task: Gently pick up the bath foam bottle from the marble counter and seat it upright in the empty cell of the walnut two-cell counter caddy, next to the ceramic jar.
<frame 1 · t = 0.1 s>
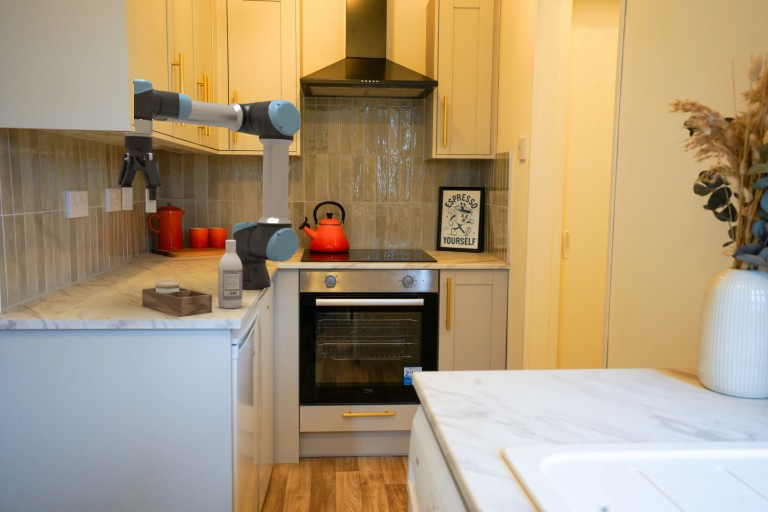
hand: (138, 211, 189), 28 cm above the worktop, fingers open, 13 cm apart
caddy: (176, 308, 191), on the worktop
bath foam: (230, 307, 198), on the worktop
cream jar: (167, 292, 194), in the caddy, point 4 cm above the worktop
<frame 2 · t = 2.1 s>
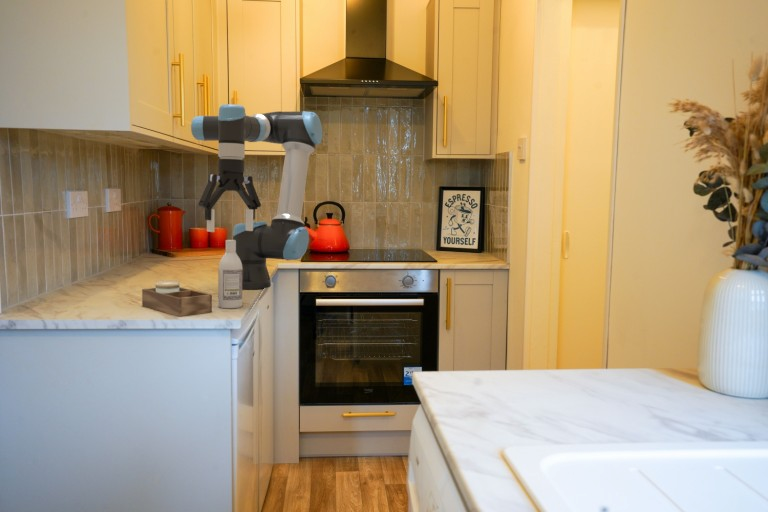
hand: (230, 231, 195), 23 cm above the worktop, fingers open, 13 cm apart
nothing on the worktop moved.
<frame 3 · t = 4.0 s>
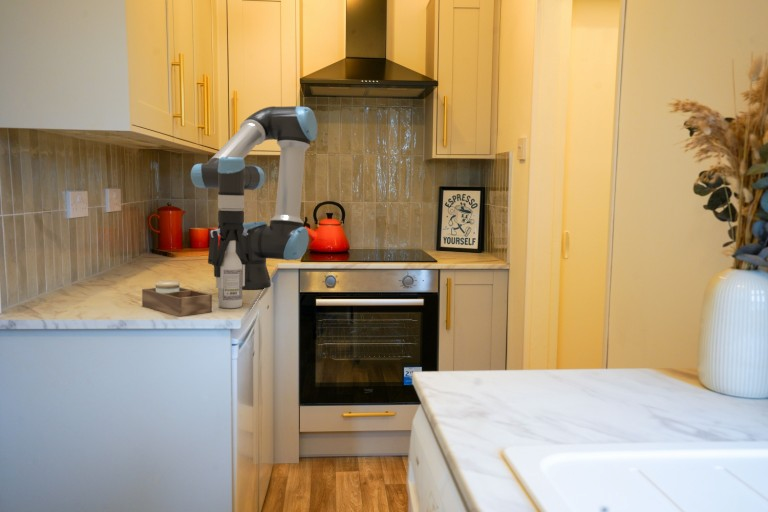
hand: (230, 286, 197), 6 cm above the worktop, fingers closed on bath foam, 7 cm apart
bath foam: (230, 307, 198), on the worktop, touching gripper
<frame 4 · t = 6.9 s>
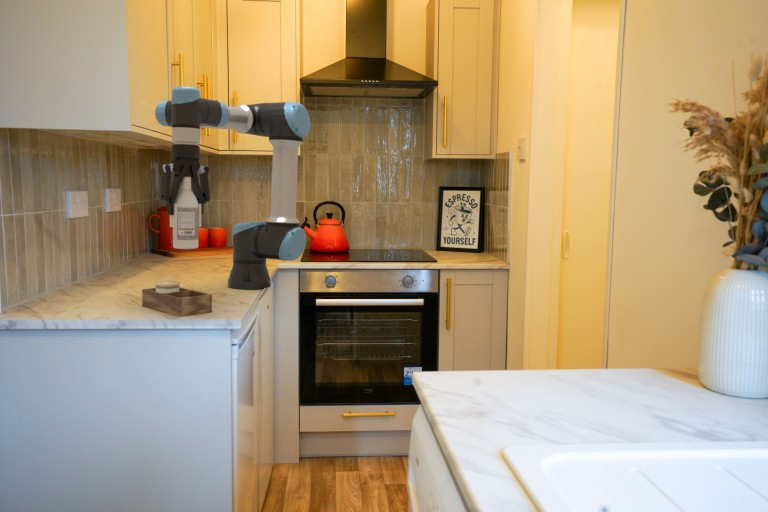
hand: (185, 226, 186), 24 cm above the worktop, fingers closed on bath foam, 7 cm apart
bath foam: (185, 248, 186), point 18 cm above the worktop, touching gripper
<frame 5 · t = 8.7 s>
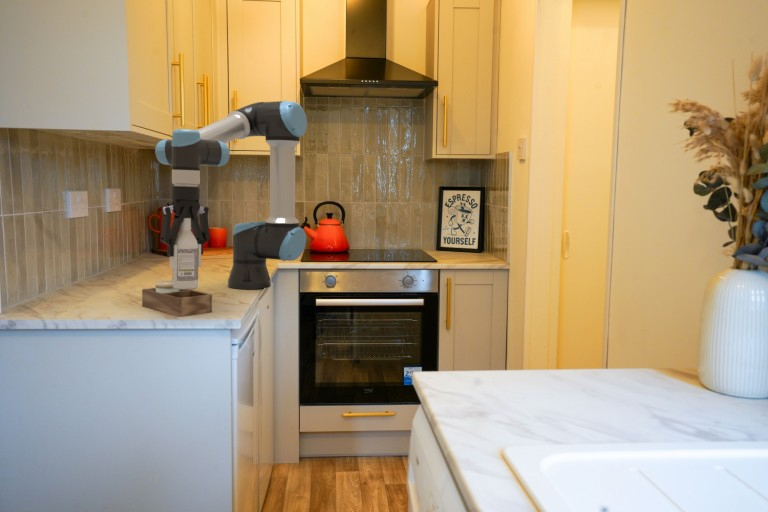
hand: (185, 267, 187), 13 cm above the worktop, fingers closed on bath foam, 7 cm apart
bath foam: (185, 288, 187), point 7 cm above the worktop, touching gripper
when the fingers open (8 cm above the worktop, at t = 10.0 s): bath foam drops 1 cm, resting on caddy.
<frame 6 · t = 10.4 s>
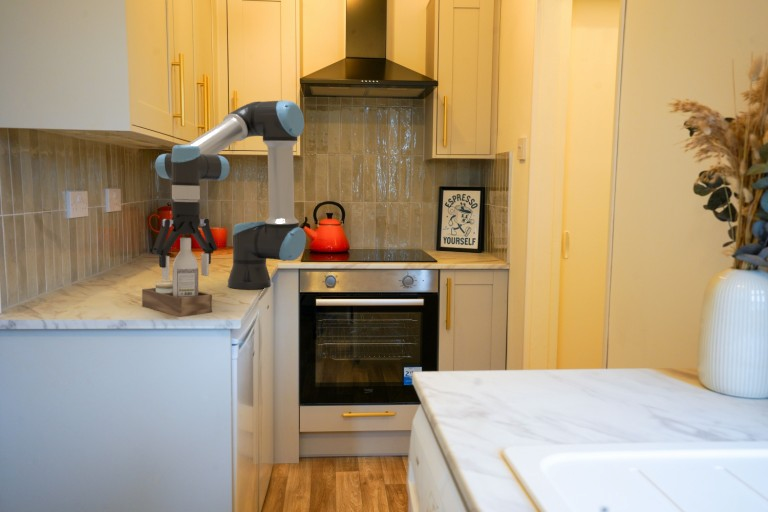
hand: (185, 277, 187), 10 cm above the worktop, fingers open, 12 cm apart
bath foam: (185, 308, 188), point 1 cm above the worktop, touching caddy
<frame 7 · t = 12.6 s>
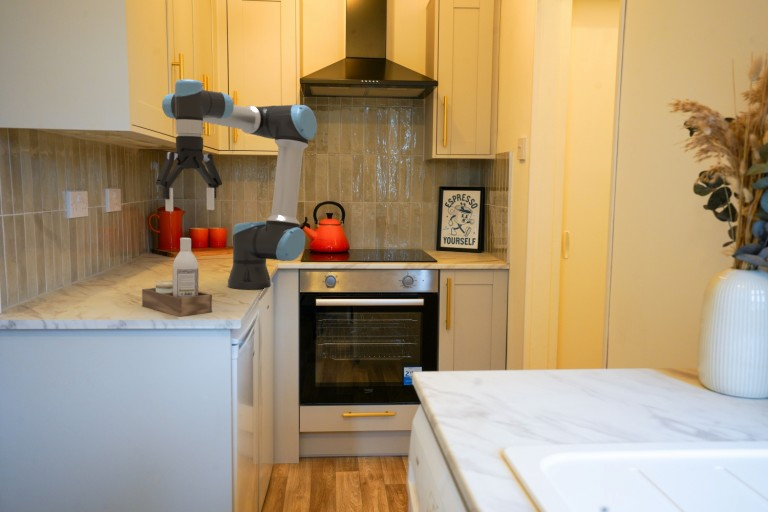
hand: (190, 210, 190), 29 cm above the worktop, fingers open, 13 cm apart
nothing on the worktop moved.
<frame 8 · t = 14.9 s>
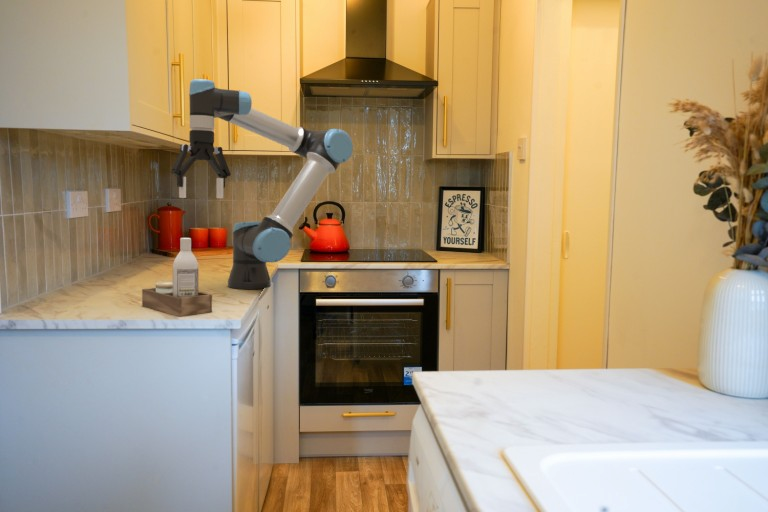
hand: (201, 198, 210), 32 cm above the worktop, fingers open, 13 cm apart
nothing on the worktop moved.
at the end: bath foam 0.1 cm from the target spot on the caddy, point 0.8 cm above the caddy's base; bath foam tilted 0°; the gripper is holding nothing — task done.
